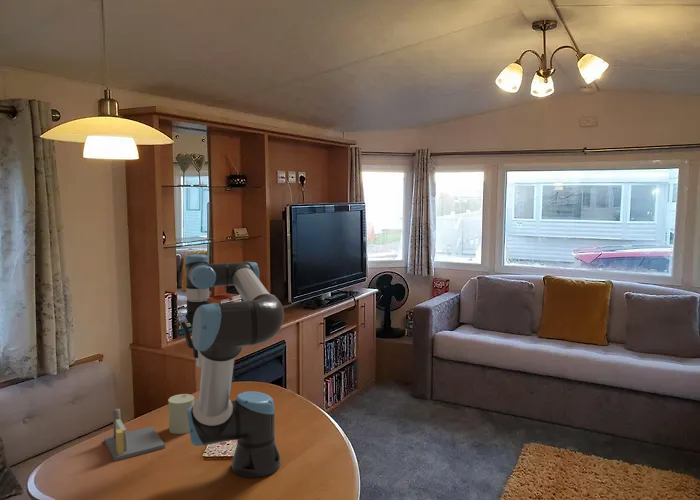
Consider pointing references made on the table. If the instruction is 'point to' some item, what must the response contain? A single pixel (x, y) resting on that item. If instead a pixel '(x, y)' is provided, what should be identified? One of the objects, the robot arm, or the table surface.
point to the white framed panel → (119, 426)
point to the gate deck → (132, 441)
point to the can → (179, 413)
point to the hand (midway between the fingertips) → (199, 366)
